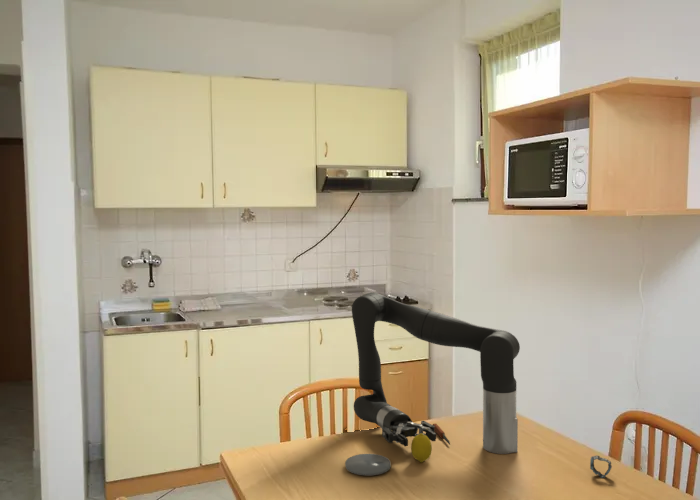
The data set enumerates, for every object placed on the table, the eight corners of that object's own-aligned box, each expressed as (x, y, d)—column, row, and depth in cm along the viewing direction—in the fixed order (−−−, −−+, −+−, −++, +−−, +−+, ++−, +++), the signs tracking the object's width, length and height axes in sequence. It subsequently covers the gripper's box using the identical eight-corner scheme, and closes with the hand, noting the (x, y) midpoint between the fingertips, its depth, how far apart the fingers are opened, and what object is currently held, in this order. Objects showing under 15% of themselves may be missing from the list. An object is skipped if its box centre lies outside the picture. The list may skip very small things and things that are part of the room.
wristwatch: (591, 472, 160) (591, 453, 160) (612, 477, 157) (612, 458, 157) (587, 476, 158) (588, 457, 157) (609, 481, 155) (609, 462, 154)
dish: (392, 459, 170) (391, 454, 170) (389, 478, 158) (389, 472, 158) (348, 458, 171) (348, 452, 171) (342, 476, 160) (342, 471, 159)
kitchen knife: (432, 429, 194) (431, 422, 194) (436, 428, 194) (436, 422, 194) (447, 448, 178) (447, 441, 178) (452, 447, 179) (452, 440, 178)
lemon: (431, 467, 165) (430, 437, 164) (410, 465, 166) (409, 436, 165) (432, 459, 170) (432, 430, 170) (412, 457, 171) (412, 429, 171)
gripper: (371, 412, 180) (397, 430, 165) (415, 406, 185) (443, 422, 170) (371, 438, 180) (397, 458, 165) (415, 430, 186) (443, 449, 171)
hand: (420, 440), depth 168 cm, fingers open, 8 cm apart
